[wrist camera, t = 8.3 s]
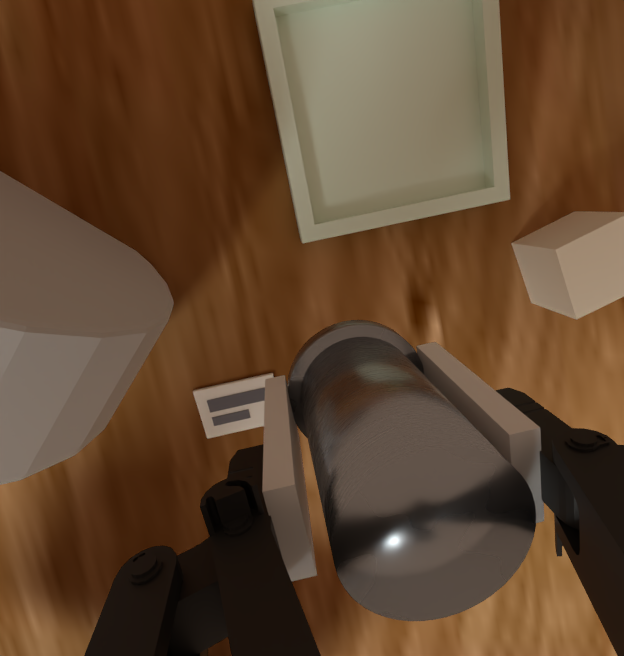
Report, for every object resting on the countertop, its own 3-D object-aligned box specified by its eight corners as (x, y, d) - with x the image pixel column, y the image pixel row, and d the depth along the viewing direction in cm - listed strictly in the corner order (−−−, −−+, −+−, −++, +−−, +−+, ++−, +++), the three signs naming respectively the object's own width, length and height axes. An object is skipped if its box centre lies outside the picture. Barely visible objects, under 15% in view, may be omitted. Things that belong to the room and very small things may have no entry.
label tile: (207, 436, 32) (207, 439, 32) (193, 390, 31) (192, 392, 31) (284, 419, 33) (284, 421, 32) (272, 372, 31) (272, 374, 31)
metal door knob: (301, 456, 17) (337, 659, 9) (274, 336, 15) (290, 464, 8) (425, 426, 17) (555, 600, 10) (410, 306, 16) (551, 401, 8)
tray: (300, 241, 29) (302, 243, 27) (252, 5, 25) (251, -10, 23) (496, 199, 29) (510, 199, 28) (480, -38, 25) (495, -56, 24)
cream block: (530, 302, 32) (576, 319, 27) (510, 242, 31) (555, 249, 26) (591, 272, 32) (647, 284, 27) (573, 211, 30) (630, 212, 26)
